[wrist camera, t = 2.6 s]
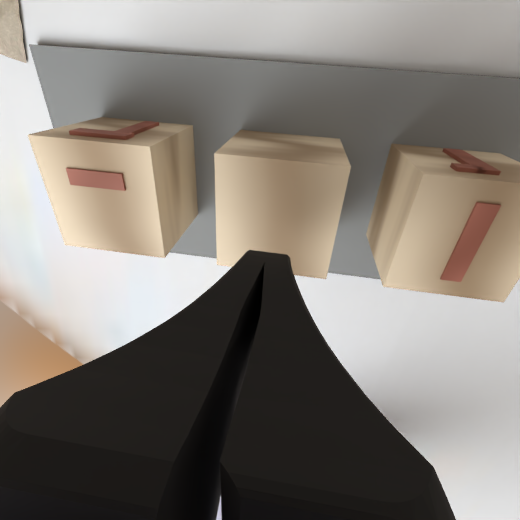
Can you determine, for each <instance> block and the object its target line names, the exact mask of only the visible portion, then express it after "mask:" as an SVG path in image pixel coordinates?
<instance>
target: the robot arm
mask: <svg viewBox="0 0 520 520" xmlns="http://www.w3.org/2000/svg"><path fill="white" fill-rule="evenodd" d="M0 520H456V519H455V516H454V514H453V511H452V509H451V507H450V504H449V502H448V499H447V497H446V495H445V492H444V490H443V488H442V485H441V483H440V481H439V478H438V476H437V474H436V471H435V469H434V467H433V466H432V465H431V464H430V463H429V462H428V461H427V460H426V459H425V458H424V457H423V456H422V455H421V454H420V453H419V452H418V451H417V450H416V449H415V448H414V447H413V446H412V445H411V444H410V443H409V442H408V441H407V440H406V439H405V438H404V437H403V436H402V435H401V434H400V433H399V432H398V431H397V430H396V429H395V428H394V426H393V425H392V424H391V423H390V422H389V421H388V420H387V419H386V418H385V417H384V416H383V414H382V413H381V412H380V411H379V410H378V409H377V408H376V406H375V405H374V404H373V403H372V402H371V401H370V400H369V398H368V397H367V396H366V395H365V394H364V392H363V391H362V390H361V389H360V387H359V386H358V385H357V383H356V382H355V381H354V380H353V378H352V377H351V376H350V375H349V373H348V372H347V371H346V369H345V368H344V367H343V366H342V364H341V363H340V362H339V360H338V359H337V357H336V356H335V354H334V353H333V351H332V350H331V348H330V347H329V346H328V344H327V342H326V341H325V339H324V338H323V336H322V334H321V333H320V331H319V329H318V328H317V326H316V324H315V322H314V320H313V319H312V317H311V315H310V313H309V311H308V309H307V307H306V305H305V302H304V300H303V298H302V295H301V293H300V291H299V288H298V286H297V283H296V280H295V277H294V274H293V271H292V267H291V261H290V257H289V256H288V255H287V254H279V253H271V252H263V251H255V250H248V251H247V252H246V253H245V254H244V255H243V256H242V257H241V258H240V259H239V260H238V262H237V263H236V264H235V265H234V266H233V267H232V268H231V269H230V270H229V271H228V272H227V273H226V274H225V275H224V276H223V277H222V278H220V279H219V280H218V281H217V282H216V283H215V284H214V285H213V286H212V287H211V288H209V289H208V290H207V291H206V292H205V293H203V294H202V295H201V296H200V297H199V298H197V299H196V300H195V301H194V302H192V303H191V304H190V305H189V306H187V307H186V308H184V309H183V310H182V311H180V312H179V313H177V314H176V315H175V316H173V317H172V318H170V319H169V320H167V321H166V322H164V323H162V324H161V325H159V326H157V327H156V328H154V329H152V330H151V331H149V332H147V333H145V334H144V335H142V336H140V337H138V338H137V339H135V340H133V341H131V342H130V343H128V344H126V345H124V346H122V347H120V348H118V349H116V350H114V351H112V352H110V353H108V354H106V355H103V356H101V357H99V358H97V359H95V360H93V361H91V362H89V363H86V364H84V365H82V366H80V367H77V368H75V369H73V370H70V371H68V372H65V373H63V374H61V375H58V376H56V377H53V378H51V379H48V380H46V381H43V382H41V383H39V384H36V385H33V386H31V387H28V388H26V389H23V390H21V391H18V392H15V393H14V394H13V395H12V396H11V397H10V398H9V399H8V400H7V401H6V402H5V403H4V404H3V405H2V406H1V407H0Z"/></svg>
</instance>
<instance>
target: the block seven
mask: <svg viewBox="0 0 520 520" xmlns="http://www.w3.org/2000/svg"><path fill="white" fill-rule="evenodd" d="M28 137H29V140H30V143H31V146H32V149H33V152H34V155H35V158H36V161H37V164H38V167H39V170H40V173H41V175H42V178H43V181H44V184H45V187H46V190H47V193H48V196H49V199H50V202H51V205H52V208H53V211H54V214H55V217H56V220H57V223H58V226H59V229H60V232H61V234H62V237H63V240H64V243H65V245H69V246H77V247H84V248H92V249H100V250H107V251H115V252H123V253H131V254H138V255H146V256H154V257H161V258H165V257H166V256H167V254H168V253H169V252H170V250H171V249H172V248H173V247H174V245H175V244H176V243H177V241H178V240H179V239H180V237H181V236H182V235H183V233H184V232H185V231H186V229H187V228H188V227H189V226H190V224H191V223H192V222H193V220H194V219H195V218H196V216H197V215H198V205H197V188H196V170H195V153H194V136H193V125H184V124H173V123H162V122H153V121H140V120H128V119H117V118H106V117H100V118H96V119H91V120H87V121H83V122H79V123H75V124H71V125H66V126H62V127H58V128H54V129H50V130H46V131H42V132H37V133H33V134H29V135H28Z"/></svg>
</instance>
